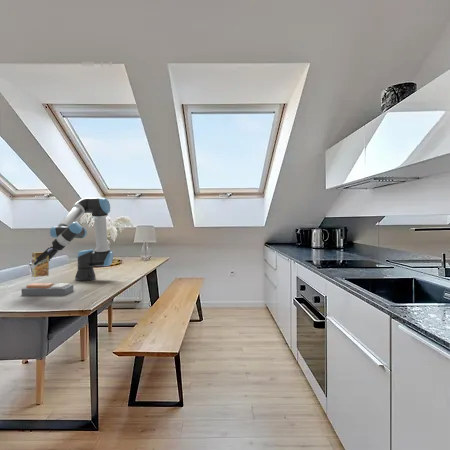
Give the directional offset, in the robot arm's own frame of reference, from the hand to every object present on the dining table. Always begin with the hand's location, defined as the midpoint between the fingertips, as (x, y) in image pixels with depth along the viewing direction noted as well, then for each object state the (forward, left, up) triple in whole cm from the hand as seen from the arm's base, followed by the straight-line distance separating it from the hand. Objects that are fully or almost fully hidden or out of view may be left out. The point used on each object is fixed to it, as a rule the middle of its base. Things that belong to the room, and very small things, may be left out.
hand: (35, 267), depth 221 cm
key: (0, +3, -13) cm, 14 cm away
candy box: (0, +3, -6) cm, 7 cm away
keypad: (0, +8, -17) cm, 18 cm away
